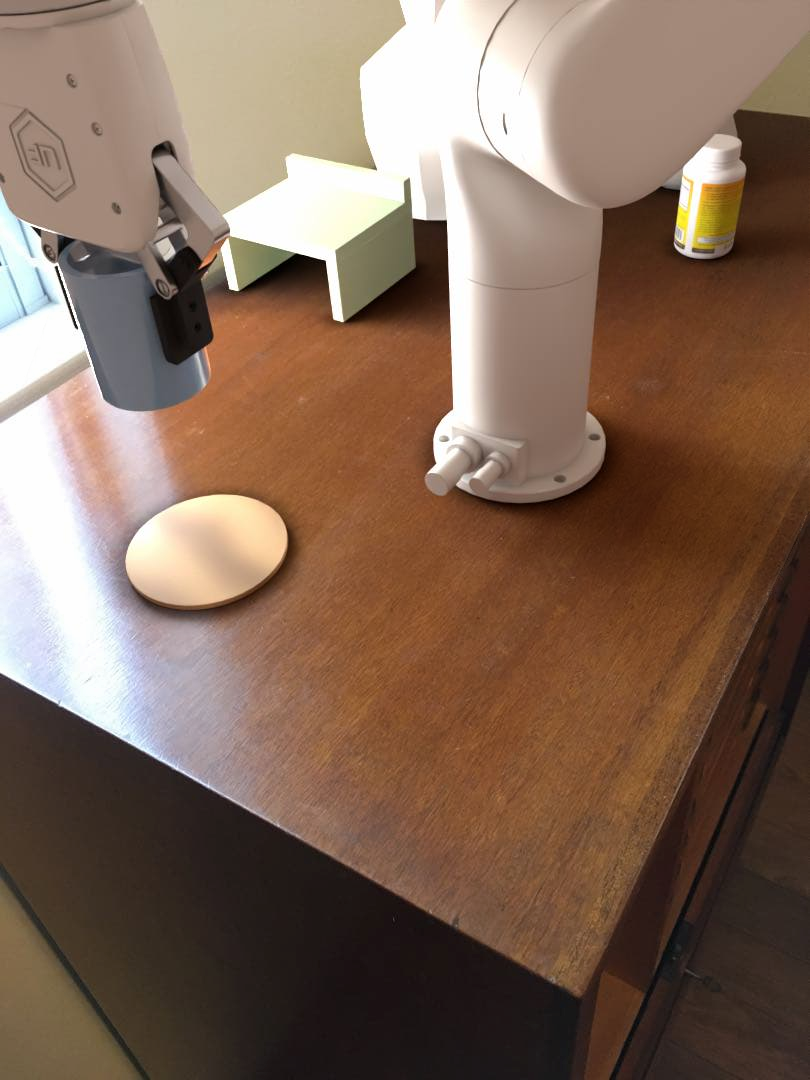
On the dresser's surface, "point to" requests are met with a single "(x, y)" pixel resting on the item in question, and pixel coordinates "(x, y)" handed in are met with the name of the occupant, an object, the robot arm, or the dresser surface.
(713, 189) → the supplement bottle
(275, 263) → the shelf
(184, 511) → the coaster
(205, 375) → the cup
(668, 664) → the dresser surface
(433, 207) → the vase
